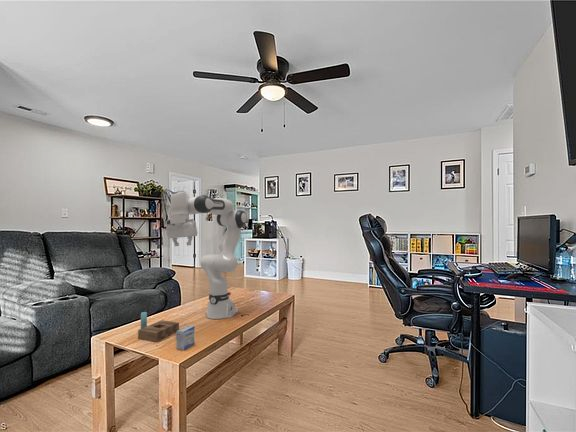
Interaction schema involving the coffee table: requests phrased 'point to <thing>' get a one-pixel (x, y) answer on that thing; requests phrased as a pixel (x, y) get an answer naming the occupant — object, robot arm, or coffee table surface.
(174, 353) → the coffee table surface
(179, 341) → the medicine box
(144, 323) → the peg
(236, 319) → the coffee table surface
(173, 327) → the hole block
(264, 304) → the coffee table surface
